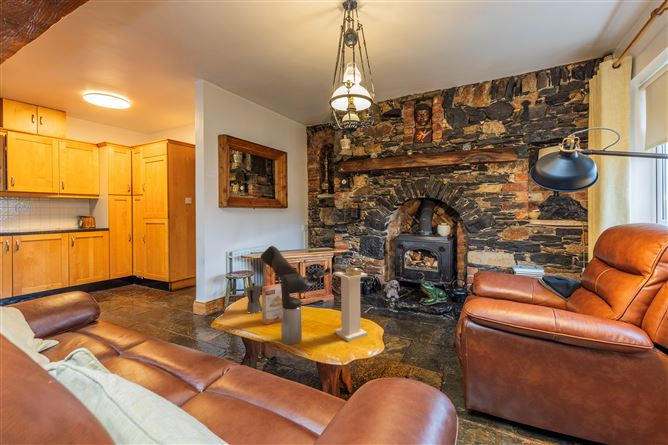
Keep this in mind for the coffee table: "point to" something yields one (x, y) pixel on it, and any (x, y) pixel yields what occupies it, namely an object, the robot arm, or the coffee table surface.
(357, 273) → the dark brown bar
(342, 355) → the coffee table surface
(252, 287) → the coffeepot
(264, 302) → the cracker box
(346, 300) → the white pillar
